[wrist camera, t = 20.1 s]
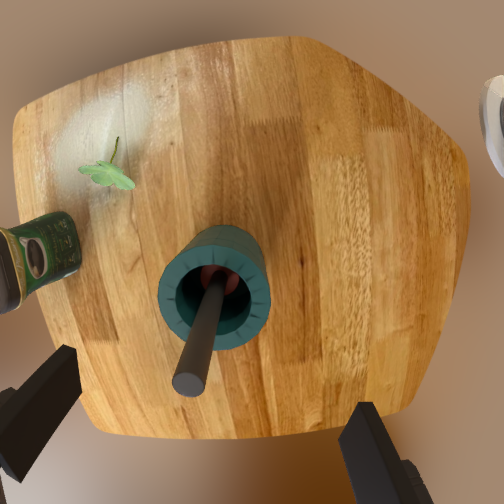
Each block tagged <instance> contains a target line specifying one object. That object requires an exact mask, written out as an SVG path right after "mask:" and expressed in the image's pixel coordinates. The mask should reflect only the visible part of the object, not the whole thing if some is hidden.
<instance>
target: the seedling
mask: <svg viewBox="0 0 504 504" xmlns="http://www.w3.org/2000/svg"><path fill="white" fill-rule="evenodd" d="M118 138H119V137H117V140H116V145H115V151H114V154H113V156H112V158H111V161H110V163H108V162H104V161H97V163H98V164H99V165H100V166H98V165H94V166H87V165H86V166H82V167H80V168H79V169H78V170H79V172H81V173H83V174H93V175H91V179H92V180H93V181H94V182H95V183H98V184H100V185H103V186H111V185H112V184H113V183H114V184H115V185H116V187H118V188H119V189H123V190H124V189H126V190H131V189H133V188H135V184H134V182H133V181H132V180H131V179H129V178H128V177H126V176H125V175H123V173H124V172H123V171H122V170H121V169H120V168H118V167H117V166H115V165H113V164H111V163H112V160H113V157H114V155H115V153H116V149H117V142H118ZM95 173H96V174H95Z"/></svg>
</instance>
